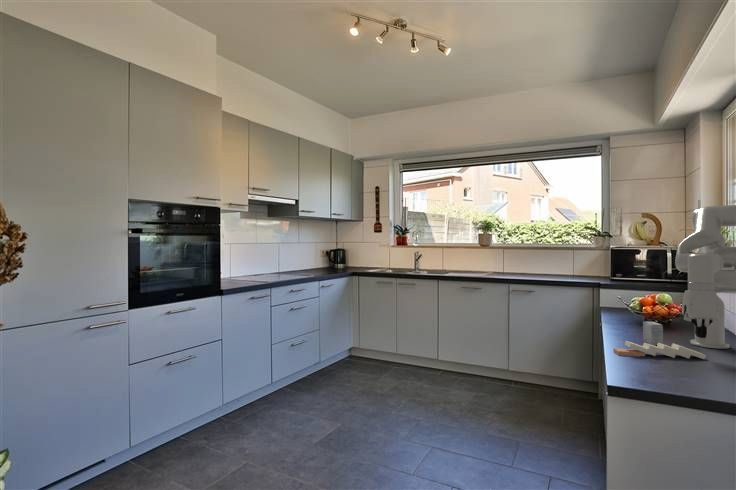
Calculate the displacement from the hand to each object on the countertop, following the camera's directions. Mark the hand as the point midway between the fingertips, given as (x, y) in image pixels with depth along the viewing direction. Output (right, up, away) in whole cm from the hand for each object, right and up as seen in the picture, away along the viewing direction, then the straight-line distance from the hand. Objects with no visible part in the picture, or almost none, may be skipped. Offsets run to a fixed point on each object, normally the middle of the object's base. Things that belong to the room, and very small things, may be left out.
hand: (700, 337), depth 151 cm
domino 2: (-16, -7, +3) cm, 17 cm away
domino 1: (-19, -7, +4) cm, 21 cm away
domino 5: (0, -7, 0) cm, 7 cm away
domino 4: (-5, -7, +1) cm, 8 cm away
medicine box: (-2, -8, +22) cm, 24 cm away
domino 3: (-9, -7, +2) cm, 12 cm away
